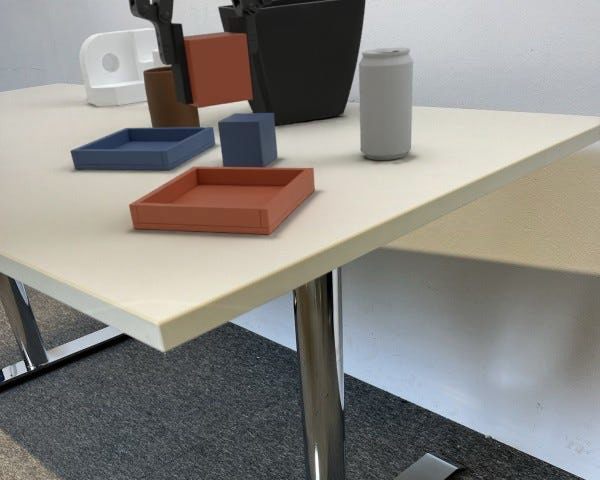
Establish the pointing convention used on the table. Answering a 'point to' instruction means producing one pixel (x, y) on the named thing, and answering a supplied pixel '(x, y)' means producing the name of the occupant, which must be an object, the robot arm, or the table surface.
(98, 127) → the table surface
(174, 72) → the robot arm
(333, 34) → the flower pot
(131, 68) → the tape dispenser
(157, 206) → the terracotta tray
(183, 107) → the mug
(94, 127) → the table surface
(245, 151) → the blue block
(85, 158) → the blue tray
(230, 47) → the terracotta block
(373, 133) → the beverage can
